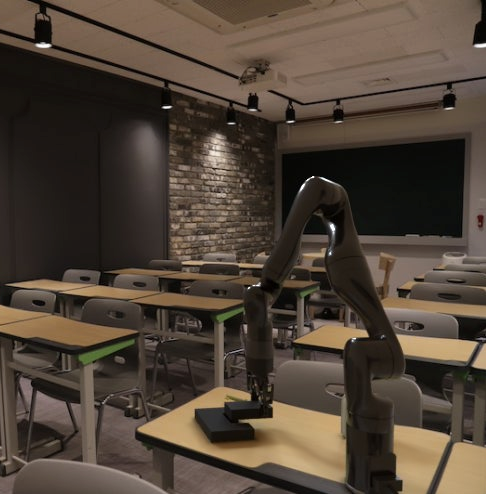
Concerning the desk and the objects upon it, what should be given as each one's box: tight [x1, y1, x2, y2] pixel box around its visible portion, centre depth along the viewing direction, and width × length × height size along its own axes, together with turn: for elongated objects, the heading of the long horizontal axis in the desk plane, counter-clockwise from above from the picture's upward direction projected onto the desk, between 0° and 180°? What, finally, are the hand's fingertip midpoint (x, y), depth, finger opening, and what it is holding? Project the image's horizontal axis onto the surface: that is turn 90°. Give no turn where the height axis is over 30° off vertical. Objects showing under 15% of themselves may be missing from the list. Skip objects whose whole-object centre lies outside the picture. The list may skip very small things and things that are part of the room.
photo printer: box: [340, 394, 346, 438], centre depth 133 cm, size 10×4×12 cm, turn 123°
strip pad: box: [223, 400, 274, 421], centre depth 138 cm, size 6×12×3 cm, turn 96°
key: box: [224, 394, 251, 401], centre depth 154 cm, size 7×12×2 cm, turn 77°
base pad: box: [194, 406, 256, 444], centre depth 137 cm, size 16×12×3 cm
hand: (259, 412), depth 139 cm, fingers closed on strip pad, 6 cm apart
